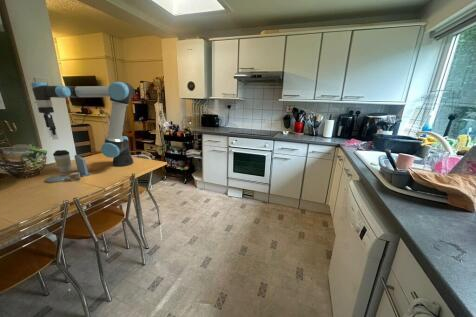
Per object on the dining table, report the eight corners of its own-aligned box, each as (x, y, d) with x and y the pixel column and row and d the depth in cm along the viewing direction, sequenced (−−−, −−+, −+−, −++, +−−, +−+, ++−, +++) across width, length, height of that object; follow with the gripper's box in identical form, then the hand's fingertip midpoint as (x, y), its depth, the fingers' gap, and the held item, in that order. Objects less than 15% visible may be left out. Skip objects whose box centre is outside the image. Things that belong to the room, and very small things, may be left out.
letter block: (80, 178, 135) (79, 171, 134) (79, 180, 131) (78, 174, 130) (72, 179, 133) (70, 172, 132) (71, 181, 129) (69, 175, 128)
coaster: (73, 175, 139) (73, 174, 138) (61, 182, 127) (61, 181, 127) (53, 175, 137) (53, 174, 136) (40, 183, 125) (40, 182, 125)
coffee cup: (76, 168, 151) (72, 149, 146) (65, 172, 142) (60, 152, 138) (65, 167, 152) (60, 148, 147) (53, 172, 143) (48, 152, 138)
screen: (74, 171, 146) (71, 155, 142) (82, 169, 149) (79, 154, 146) (83, 176, 137) (79, 160, 133) (91, 174, 141) (88, 158, 137)
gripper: (35, 106, 138) (44, 136, 144) (39, 107, 122) (49, 141, 129) (49, 105, 143) (57, 134, 150) (55, 107, 128) (64, 139, 134)
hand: (53, 137), depth 139 cm, fingers open, 13 cm apart
